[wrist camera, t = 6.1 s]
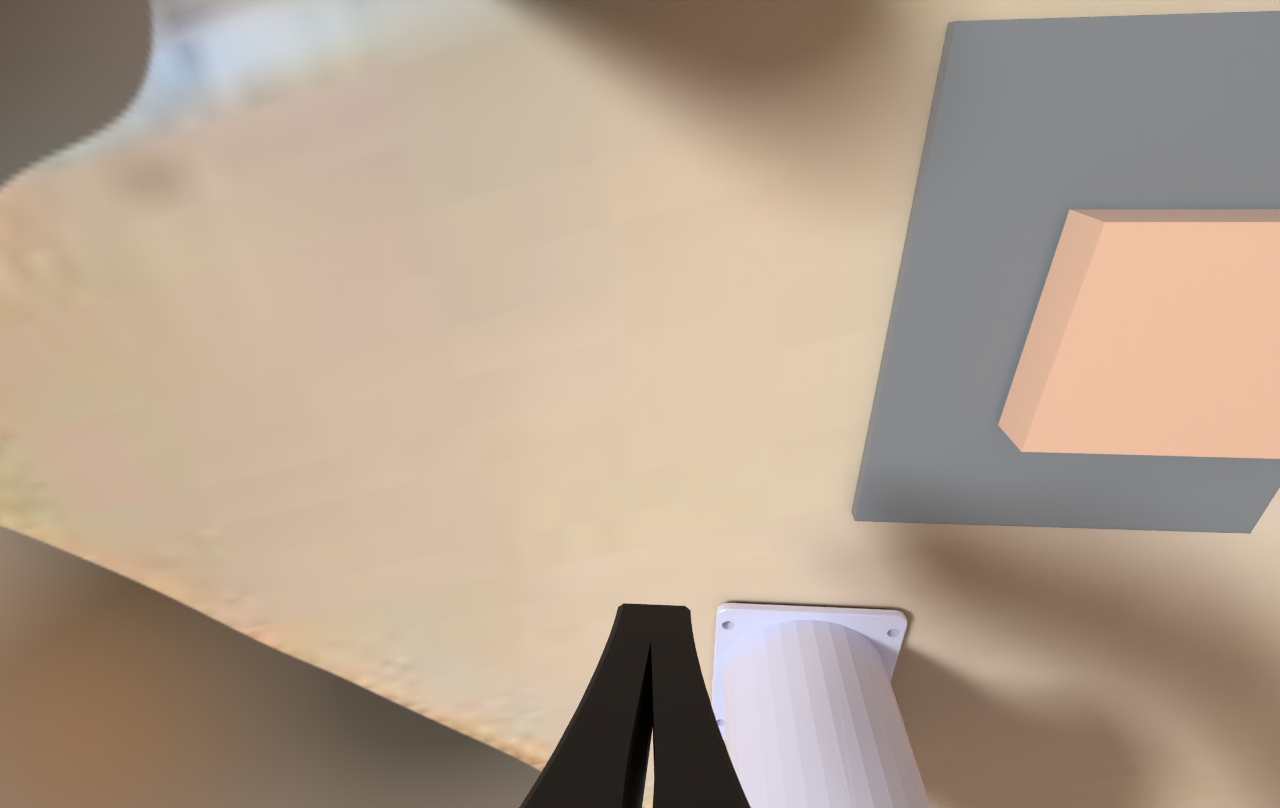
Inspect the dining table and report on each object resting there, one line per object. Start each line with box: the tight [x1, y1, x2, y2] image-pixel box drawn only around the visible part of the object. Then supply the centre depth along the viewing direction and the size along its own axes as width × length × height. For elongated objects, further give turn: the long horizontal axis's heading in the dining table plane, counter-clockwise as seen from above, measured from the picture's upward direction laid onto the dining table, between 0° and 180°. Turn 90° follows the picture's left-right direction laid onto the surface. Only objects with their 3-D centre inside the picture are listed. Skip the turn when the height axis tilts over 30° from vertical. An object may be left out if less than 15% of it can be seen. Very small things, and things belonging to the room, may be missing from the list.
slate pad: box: [852, 11, 1280, 533], centre depth 18 cm, size 16×14×1 cm
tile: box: [998, 209, 1280, 459], centre depth 17 cm, size 7×2×9 cm
